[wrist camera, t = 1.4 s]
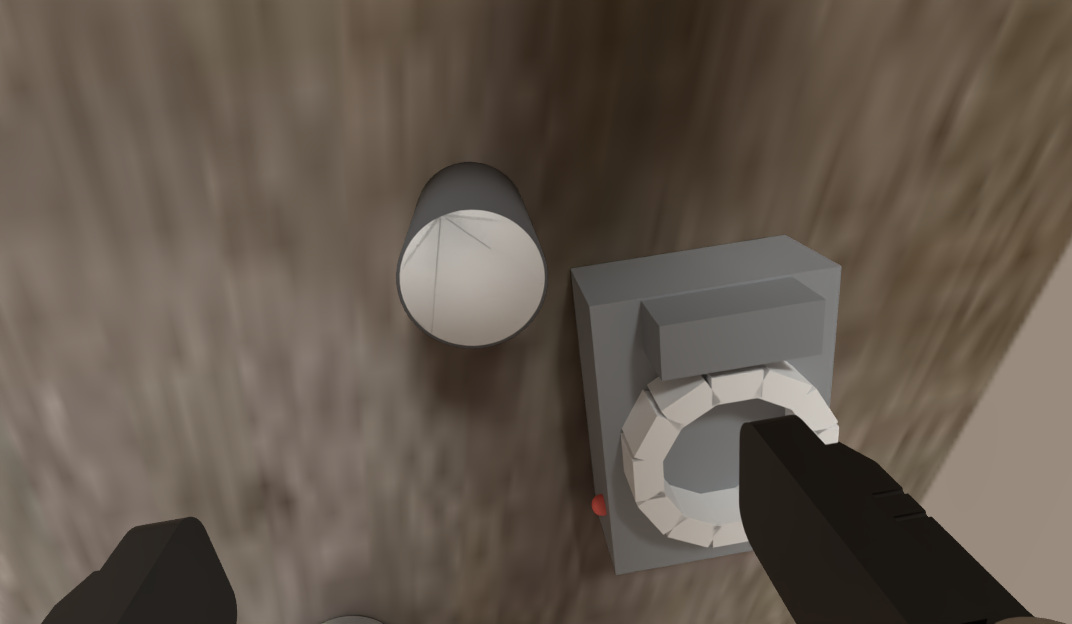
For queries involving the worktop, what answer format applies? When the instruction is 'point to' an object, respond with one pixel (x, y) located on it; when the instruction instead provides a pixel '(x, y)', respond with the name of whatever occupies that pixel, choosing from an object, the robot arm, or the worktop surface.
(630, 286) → the camera body
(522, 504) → the worktop surface
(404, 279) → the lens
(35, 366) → the worktop surface
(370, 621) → the lotion bottle
